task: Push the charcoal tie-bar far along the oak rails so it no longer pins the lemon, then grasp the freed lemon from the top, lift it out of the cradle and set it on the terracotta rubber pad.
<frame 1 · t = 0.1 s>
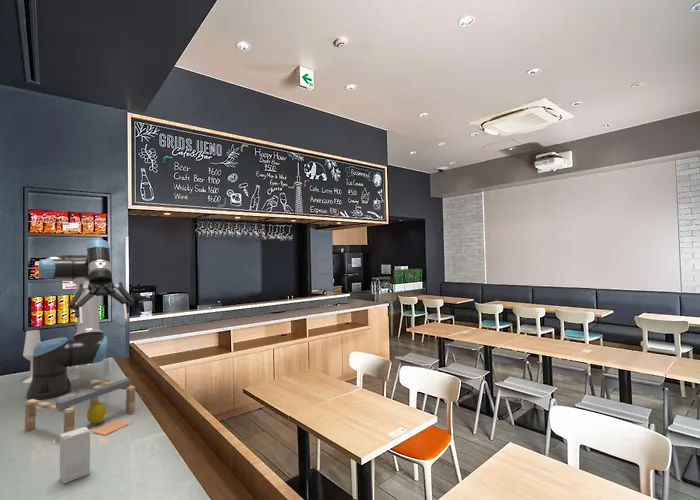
hand: (104, 322, 133), 36 cm above the counter, tool tilted 35°, fingers open, 13 cm apart
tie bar: (96, 390, 130), point 12 cm above the counter, slide at 0.0 cm
lemon: (96, 424, 130), on the counter
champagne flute: (31, 381, 176), on the counter
skincare box: (74, 477, 99), on the counter
pad: (112, 427, 127), on the counter
cradle: (82, 420, 132), on the counter
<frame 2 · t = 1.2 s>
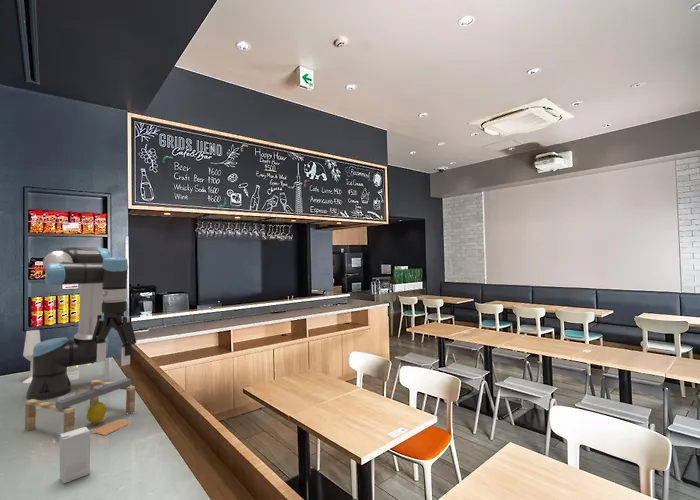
hand: (113, 363, 128), 22 cm above the counter, tool pointing down, fingers open, 11 cm apart
nothing on the counter moved.
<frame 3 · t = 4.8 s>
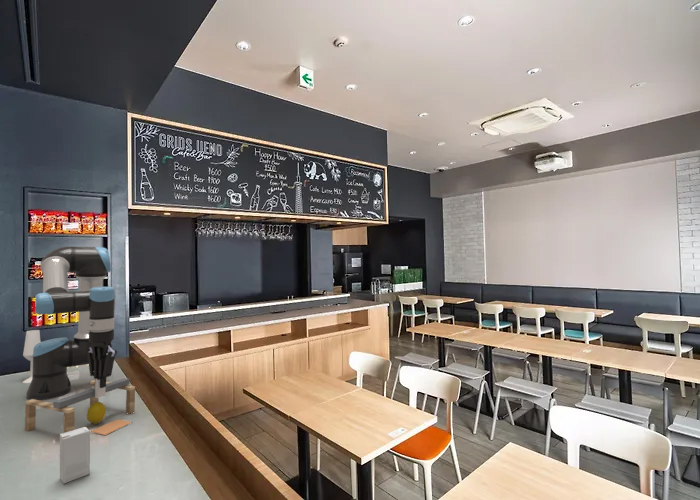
hand: (100, 396, 130), 10 cm above the counter, tool pointing down, fingers closed
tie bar: (94, 390, 131), point 12 cm above the counter, slide at 1.1 cm, touching gripper
everything else where it was.
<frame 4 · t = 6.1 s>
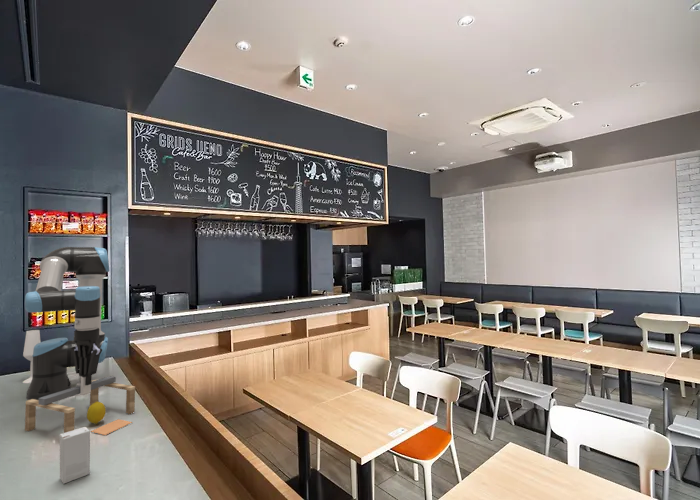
hand: (85, 393, 133), 10 cm above the counter, tool pointing down, fingers closed
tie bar: (80, 387, 133), point 12 cm above the counter, slide at 8.7 cm, touching gripper
everything else where it was.
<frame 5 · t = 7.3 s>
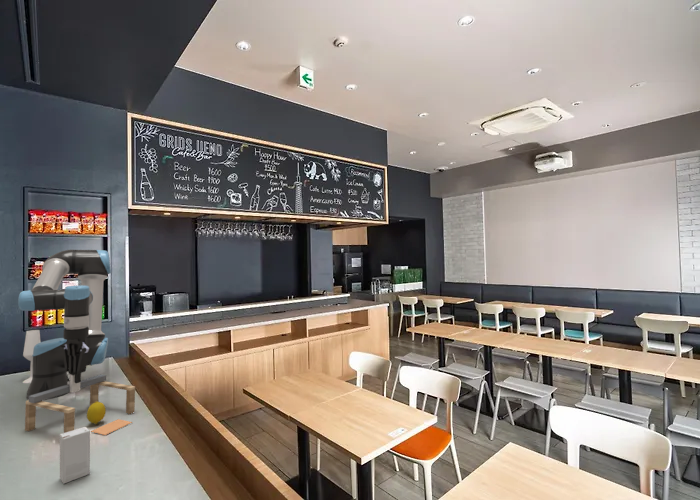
hand: (74, 391, 135), 10 cm above the counter, tool pointing down, fingers closed
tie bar: (70, 385, 135), point 12 cm above the counter, slide at 14.0 cm, touching gripper
everything else where it was.
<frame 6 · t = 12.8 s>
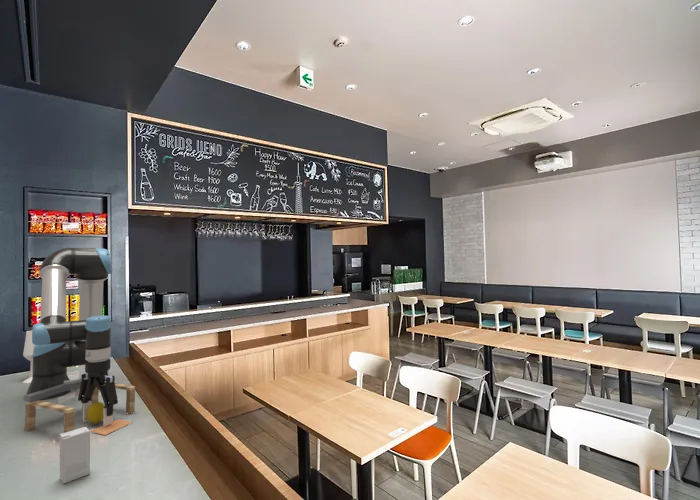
hand: (97, 422, 130), 1 cm above the counter, tool pointing down, fingers open, 10 cm apart
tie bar: (66, 385, 136), point 12 cm above the counter, slide at 16.1 cm
everything else where it was.
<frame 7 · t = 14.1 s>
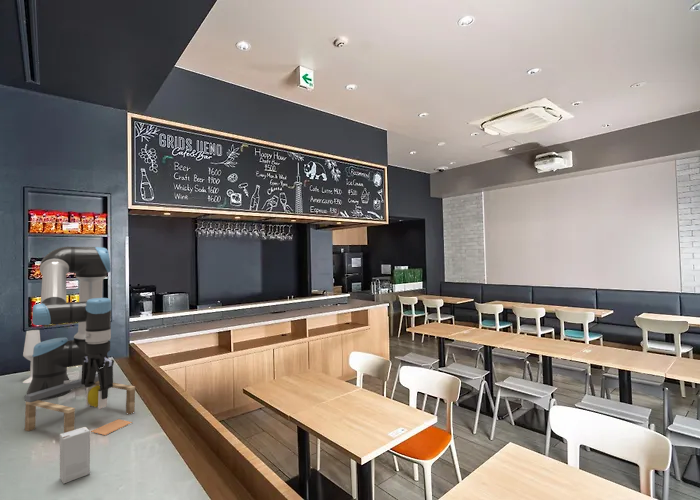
hand: (96, 405, 131), 6 cm above the counter, tool pointing down, fingers closed on lemon, 6 cm apart
lemon: (96, 407, 131), point 5 cm above the counter, touching gripper
everything else where it was.
when the fingers open (2 cm above the counter, at t = 17.9 s): lemon stays where it is, resting on pad.
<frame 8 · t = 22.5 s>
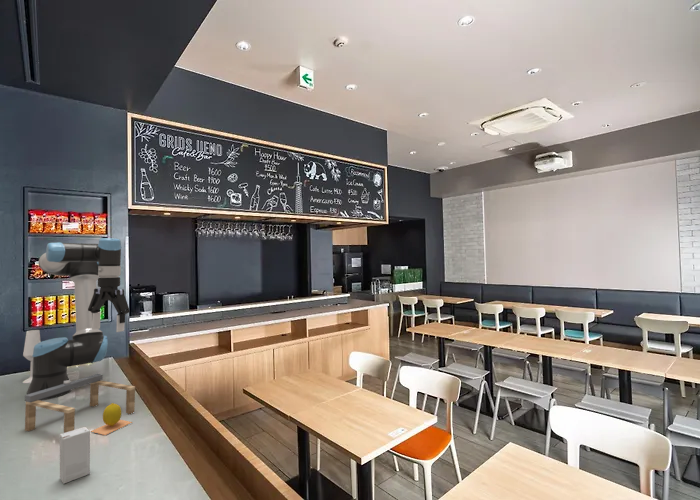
hand: (108, 330, 145), 31 cm above the counter, tool pointing down, fingers open, 13 cm apart
lemon: (111, 426, 128), resting on pad
everything else where it was.
at the end: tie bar slide at 16.1 cm; lemon 0.3 cm from the pad (horizontally); lemon resting on pad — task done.
